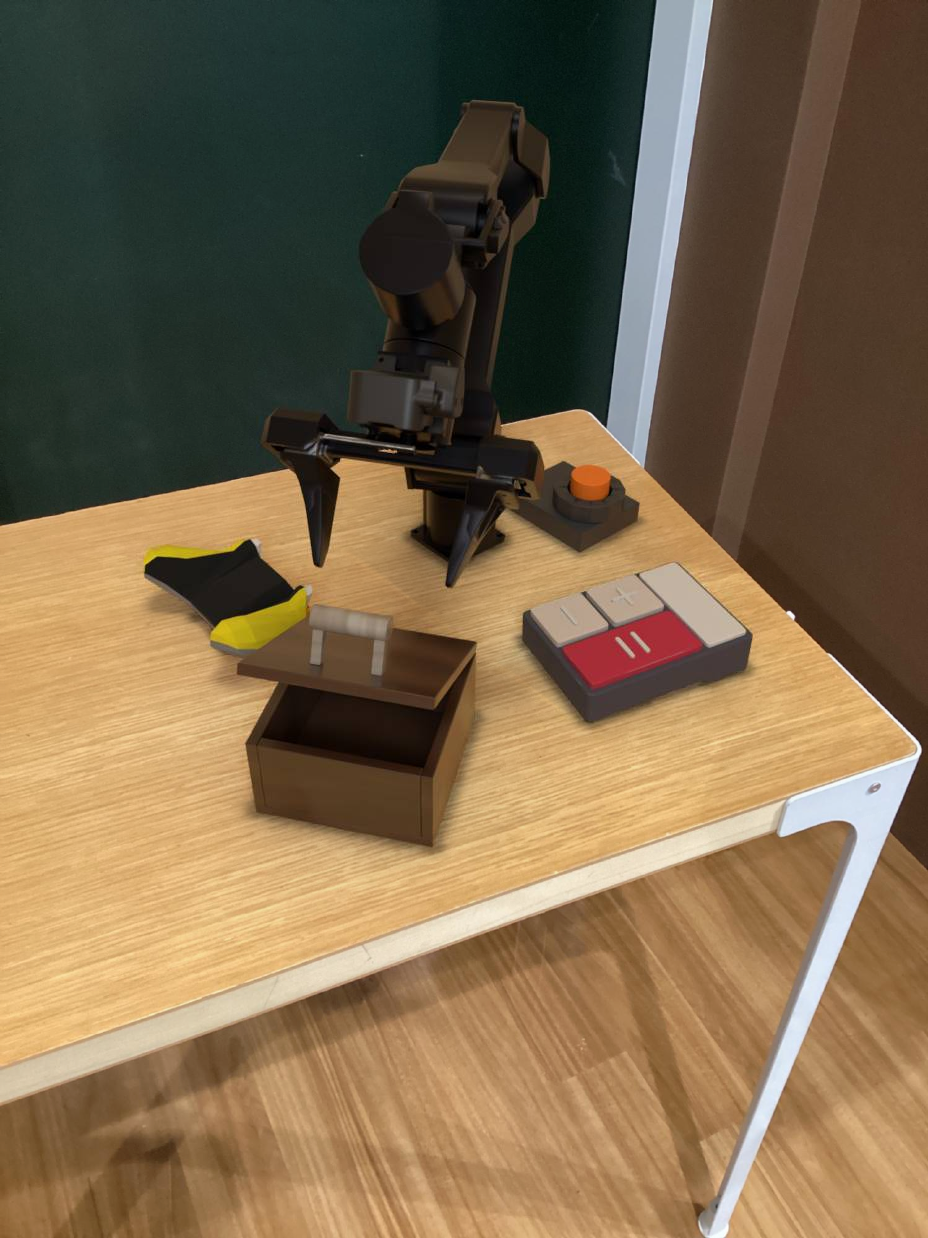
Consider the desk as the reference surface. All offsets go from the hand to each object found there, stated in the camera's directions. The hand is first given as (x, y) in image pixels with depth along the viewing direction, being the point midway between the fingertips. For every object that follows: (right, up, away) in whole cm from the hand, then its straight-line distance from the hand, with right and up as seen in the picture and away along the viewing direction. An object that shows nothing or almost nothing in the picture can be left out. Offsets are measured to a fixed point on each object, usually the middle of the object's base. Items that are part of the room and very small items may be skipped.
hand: (382, 576), depth 72 cm
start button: (+17, +9, +27) cm, 33 cm away
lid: (-1, -6, -1) cm, 6 cm away
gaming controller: (-14, -3, +17) cm, 22 cm away
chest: (-1, -13, +5) cm, 14 cm away
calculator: (+19, -6, +15) cm, 25 cm away
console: (+16, +7, +31) cm, 35 cm away
